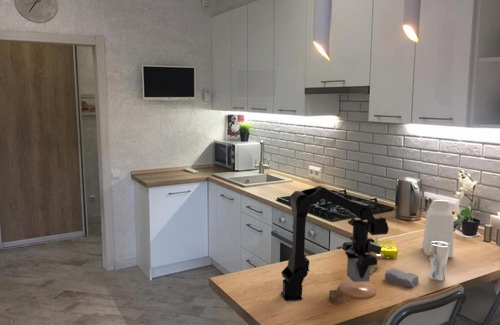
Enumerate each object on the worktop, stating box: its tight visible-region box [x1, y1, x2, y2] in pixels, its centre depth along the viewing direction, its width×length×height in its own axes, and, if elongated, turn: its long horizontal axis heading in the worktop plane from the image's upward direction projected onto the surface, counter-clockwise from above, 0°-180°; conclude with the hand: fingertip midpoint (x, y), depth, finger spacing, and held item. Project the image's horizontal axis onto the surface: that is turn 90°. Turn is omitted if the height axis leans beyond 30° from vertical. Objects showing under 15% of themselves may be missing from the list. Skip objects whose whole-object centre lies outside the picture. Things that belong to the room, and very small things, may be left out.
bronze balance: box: [366, 238, 384, 276], centre depth 188 cm, size 25×7×12 cm, turn 145°
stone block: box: [384, 267, 419, 289], centre depth 179 cm, size 12×5×10 cm
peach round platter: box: [338, 279, 377, 299], centre depth 170 cm, size 14×14×1 cm
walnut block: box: [328, 289, 343, 304], centre depth 160 cm, size 4×4×4 cm
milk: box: [422, 199, 454, 258], centre depth 211 cm, size 12×12×26 cm
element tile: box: [377, 239, 398, 259], centre depth 212 cm, size 15×15×5 cm
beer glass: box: [428, 241, 449, 282], centre depth 181 cm, size 7×7×15 cm
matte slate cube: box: [346, 258, 371, 282], centre depth 169 cm, size 6×6×7 cm
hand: (358, 274), depth 169 cm, fingers closed on matte slate cube, 6 cm apart
